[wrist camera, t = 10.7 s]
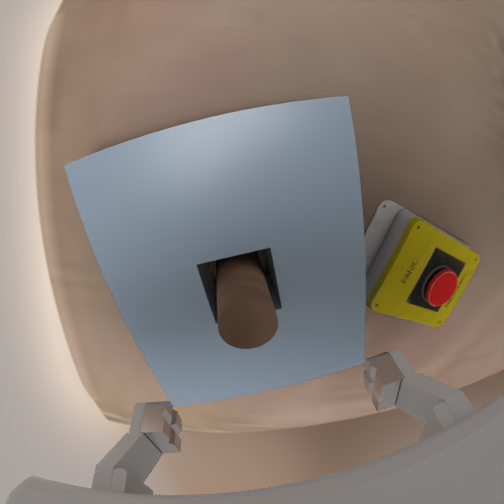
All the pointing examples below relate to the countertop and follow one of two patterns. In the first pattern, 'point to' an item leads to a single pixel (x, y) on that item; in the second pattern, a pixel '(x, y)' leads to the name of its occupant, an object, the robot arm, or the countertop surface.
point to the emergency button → (414, 266)
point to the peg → (244, 302)
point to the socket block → (233, 242)
